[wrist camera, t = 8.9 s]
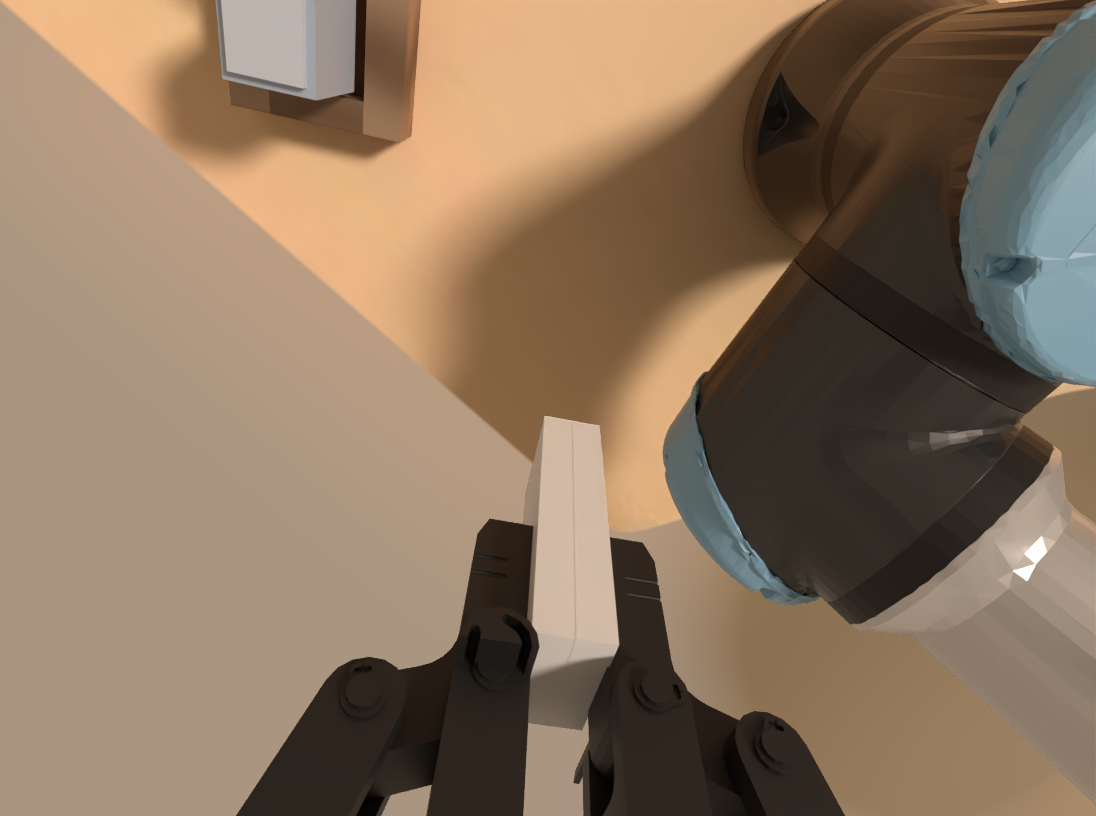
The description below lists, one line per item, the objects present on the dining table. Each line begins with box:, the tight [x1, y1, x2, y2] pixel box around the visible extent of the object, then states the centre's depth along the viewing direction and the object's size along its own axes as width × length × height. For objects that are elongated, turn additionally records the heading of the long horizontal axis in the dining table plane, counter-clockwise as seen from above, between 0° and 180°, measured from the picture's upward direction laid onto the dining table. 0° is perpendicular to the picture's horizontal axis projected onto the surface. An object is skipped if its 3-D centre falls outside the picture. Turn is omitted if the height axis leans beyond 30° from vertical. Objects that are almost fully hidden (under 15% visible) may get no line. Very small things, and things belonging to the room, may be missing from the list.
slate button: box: [215, 0, 356, 100], centre depth 29 cm, size 4×4×6 cm
